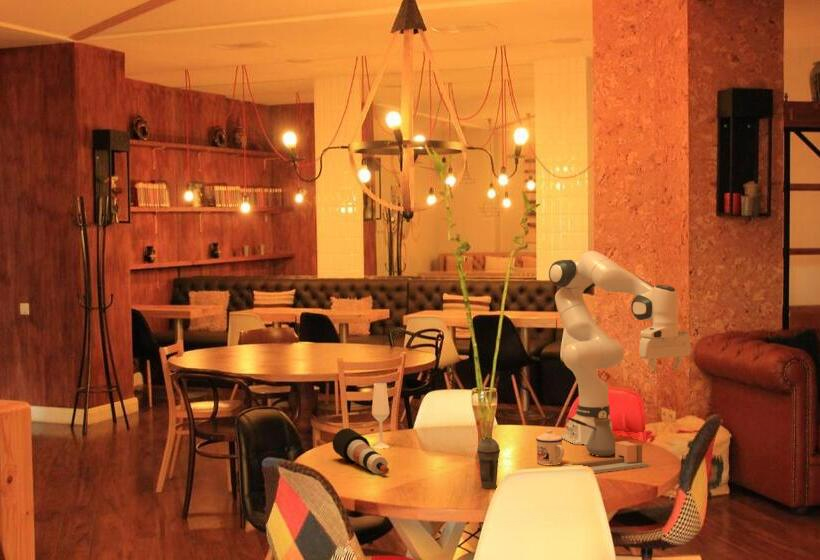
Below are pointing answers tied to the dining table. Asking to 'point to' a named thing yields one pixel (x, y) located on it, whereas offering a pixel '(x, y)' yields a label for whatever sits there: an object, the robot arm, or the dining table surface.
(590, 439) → the coffee pot
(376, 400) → the champagne flute
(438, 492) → the dining table surface
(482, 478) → the beverage cup
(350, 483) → the dining table surface
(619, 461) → the rail board
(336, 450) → the cable
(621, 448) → the block
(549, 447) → the teacup with lid
